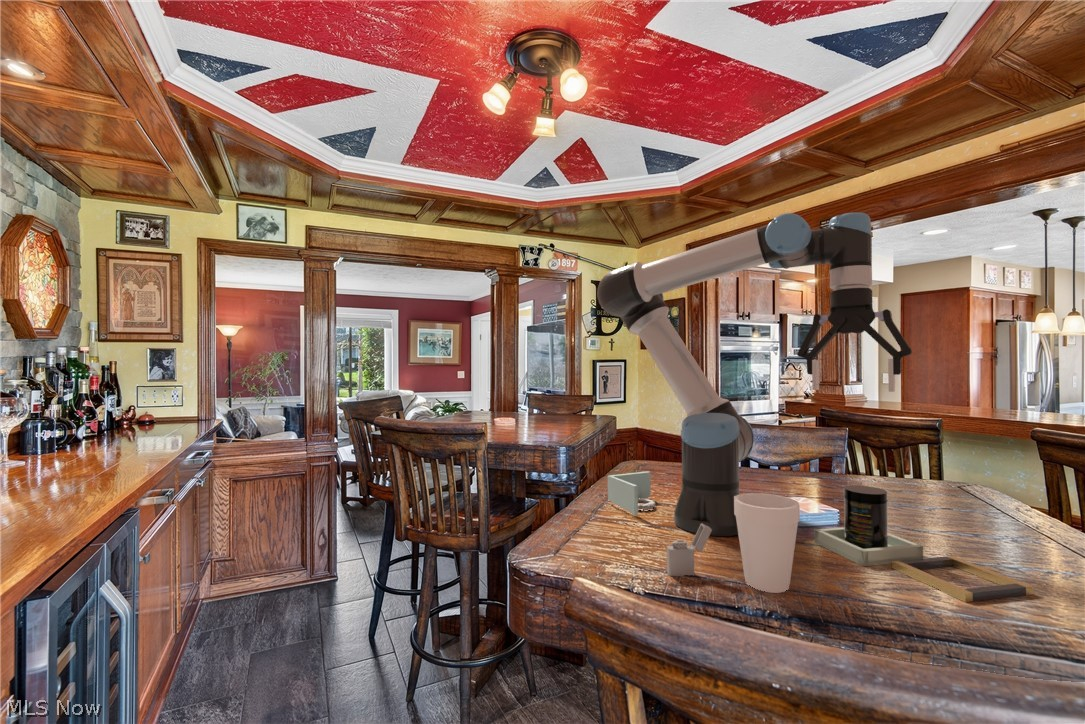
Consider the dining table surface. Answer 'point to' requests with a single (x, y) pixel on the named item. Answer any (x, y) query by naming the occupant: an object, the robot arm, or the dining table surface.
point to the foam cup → (767, 539)
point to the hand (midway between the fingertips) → (852, 390)
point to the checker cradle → (1003, 590)
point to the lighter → (686, 553)
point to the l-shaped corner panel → (631, 491)
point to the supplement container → (865, 516)
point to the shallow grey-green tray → (871, 556)
